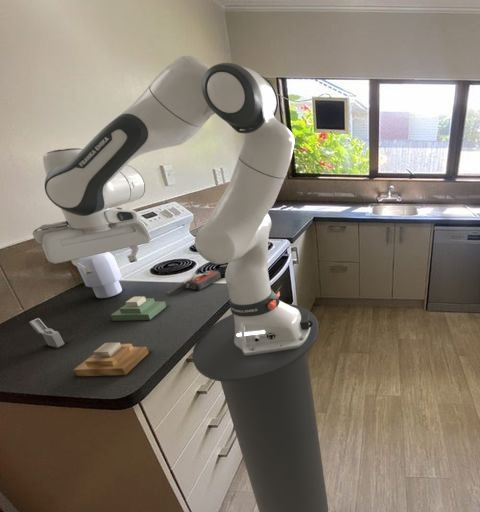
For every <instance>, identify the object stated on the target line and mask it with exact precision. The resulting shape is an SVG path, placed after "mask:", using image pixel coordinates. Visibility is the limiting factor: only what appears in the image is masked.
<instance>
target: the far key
mask: <svg viewBox="0 0 480 512" xmlns="http://www.w3.org/2000/svg"><path fill="white" fill-rule="evenodd" d="M145 298H146V296H143V295H142V296H133V297H131V298H130V299H128V300H127V301H125V305H127V307H139V306H140V305H142V304H143V303H144V302H146V299H145Z"/></svg>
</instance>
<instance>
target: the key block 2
mask: <svg viewBox="0 0 480 512" xmlns="http://www.w3.org/2000/svg"><path fill="white" fill-rule="evenodd" d="M120 345H121V347H122V348H121V349H120V350H119V351H118V352H117V353H115V354H114V355H113V356H112V357H111V358H96V356H95V354H94V353H93V354H91V355H90V356H89V357H88V358H86V359H85V360H84V361H83V362H81V363H80V364H79V365H77V366H75V368H73V371H74V374H75V375H76V377H98V376H99V377H100V376H127V375H128V374H129V372H131V371H132V370H133V369H134V368H135V367H136V366H137V365H138V364H139V363H140V362H141V361H142V360H143V359H144V358H145V357H146V356H147V355H149V350H148V347H147V346H133V344H132V343H120Z"/></svg>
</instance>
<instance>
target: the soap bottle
mask: <svg viewBox="0 0 480 512" xmlns="http://www.w3.org/2000/svg"><path fill="white" fill-rule="evenodd" d="M79 260H80V264H81V265H83V266H87V265H88V266H89V267H90V269H91V271H92V273H89V274H85V275H84V273H83V272H82V269H80V268H79V267H77V266H76V267H77V268H76V269H77V270H78V272H79V275H80V276H81V278H82V281H83V284H84V285H85V287H87V288H92V290H93V292H94V295H95V297H96V298H97V299H107V298H111V297H112V298H113V297H115V296H118V295H119V294H120V293H122V291H123V288H122V285H121V283H120V280H121V279H122V277H123V276H122V273H121V270H120V269H119V268H120V267H119V265H118V262H117V260H116V258H115V256H114V255H113V254H112V253H111V251H110V252H106V253H101V254H97V255H92V256H88V257H84V258H79Z"/></svg>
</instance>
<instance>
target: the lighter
mask: <svg viewBox="0 0 480 512" xmlns="http://www.w3.org/2000/svg"><path fill="white" fill-rule="evenodd" d="M29 324H30V326H31V327H32V328H33V329H34V330H35V331H36V332H37V334H38V335H39V334H41V336H42V337H43V339H44V341H45V343H46V344H47V346H49V347H53V348H55V349H56V348H57V349H58V348H60V347H61V346H64V345H65V341H64V340H63V338H62V336H61V334H60V332H59V331H57V330H54V329H53V328H50V327H47V326H46V325H45V323H44V322H43V321H42V319H40V318H39V317H36V318H35V319H33V320H30V321H29Z"/></svg>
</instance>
